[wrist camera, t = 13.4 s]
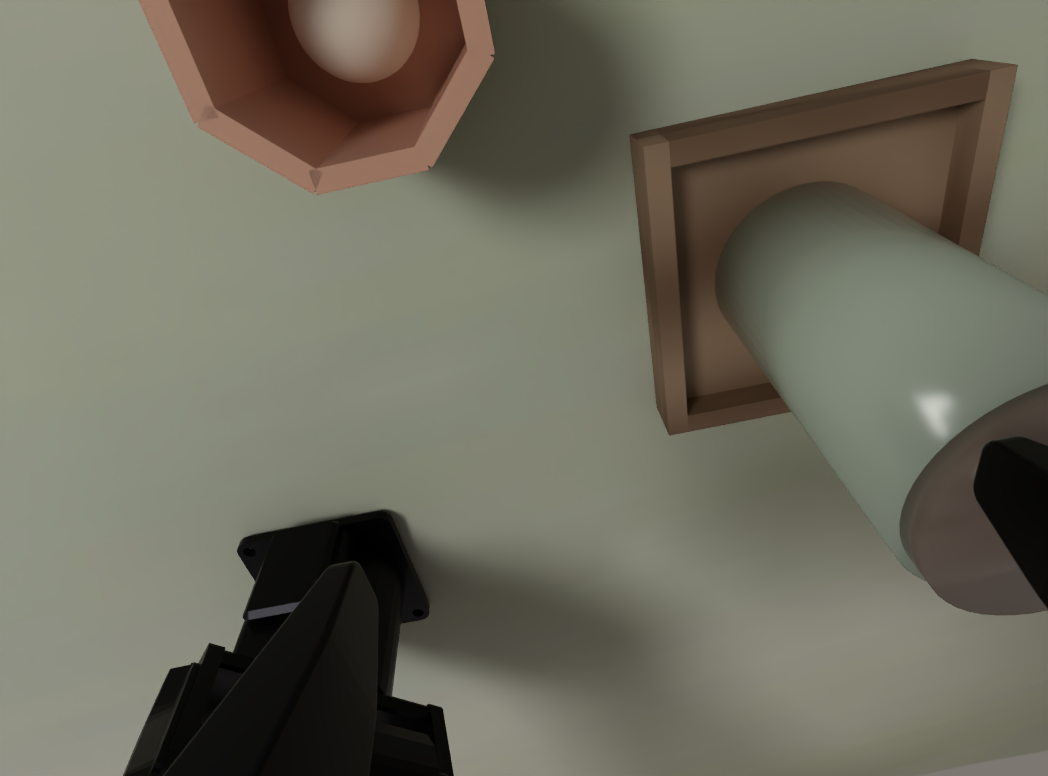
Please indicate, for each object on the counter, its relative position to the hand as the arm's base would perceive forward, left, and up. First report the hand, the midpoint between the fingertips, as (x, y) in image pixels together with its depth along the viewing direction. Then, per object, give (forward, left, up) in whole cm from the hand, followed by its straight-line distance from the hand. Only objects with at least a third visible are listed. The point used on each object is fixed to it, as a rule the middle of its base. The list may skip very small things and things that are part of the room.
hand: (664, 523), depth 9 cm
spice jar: (-3, -7, -12) cm, 14 cm away
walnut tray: (-3, -7, -13) cm, 15 cm away
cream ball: (+7, +4, -12) cm, 15 cm away
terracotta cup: (+7, +4, -13) cm, 15 cm away
